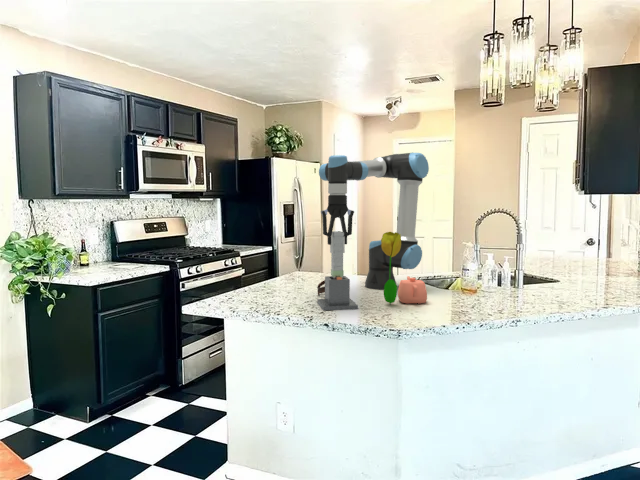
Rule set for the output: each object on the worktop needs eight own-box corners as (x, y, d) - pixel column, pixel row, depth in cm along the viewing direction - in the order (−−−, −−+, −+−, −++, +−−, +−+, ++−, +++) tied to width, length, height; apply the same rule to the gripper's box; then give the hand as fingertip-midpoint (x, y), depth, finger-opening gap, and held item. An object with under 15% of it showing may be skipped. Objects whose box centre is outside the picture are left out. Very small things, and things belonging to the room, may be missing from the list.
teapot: (401, 306, 195) (402, 281, 194) (394, 297, 213) (395, 273, 212) (429, 306, 195) (430, 281, 194) (420, 297, 213) (421, 273, 212)
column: (340, 280, 198) (340, 231, 196) (343, 283, 193) (344, 232, 191) (330, 281, 198) (330, 231, 196) (333, 283, 192) (333, 232, 190)
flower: (379, 302, 202) (380, 231, 200) (398, 302, 202) (399, 231, 199) (381, 307, 194) (382, 233, 191) (401, 307, 194) (402, 233, 191)
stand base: (349, 301, 204) (349, 272, 203) (358, 309, 190) (358, 277, 189) (317, 302, 202) (317, 273, 200) (323, 310, 188) (323, 279, 187)
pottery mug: (341, 298, 212) (333, 283, 210) (322, 307, 214) (313, 292, 211) (341, 286, 223) (333, 272, 221) (323, 294, 225) (315, 280, 223)
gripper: (355, 194, 197) (355, 251, 199) (314, 194, 194) (314, 252, 196) (360, 194, 190) (360, 253, 192) (318, 194, 186) (318, 254, 189)
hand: (337, 252), depth 194 cm, fingers closed on column, 4 cm apart
